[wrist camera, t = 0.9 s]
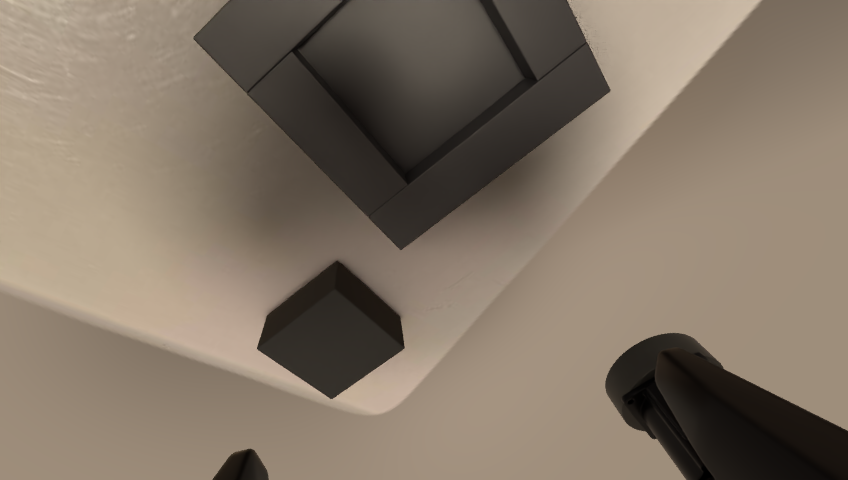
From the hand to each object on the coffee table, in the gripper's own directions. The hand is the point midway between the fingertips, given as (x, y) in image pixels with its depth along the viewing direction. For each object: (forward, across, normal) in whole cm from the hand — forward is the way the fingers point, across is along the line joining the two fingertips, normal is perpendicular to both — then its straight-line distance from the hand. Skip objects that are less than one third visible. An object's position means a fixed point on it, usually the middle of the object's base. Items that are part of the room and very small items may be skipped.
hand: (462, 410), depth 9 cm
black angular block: (+14, +6, +7) cm, 17 cm away
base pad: (+14, -2, -6) cm, 15 cm away
